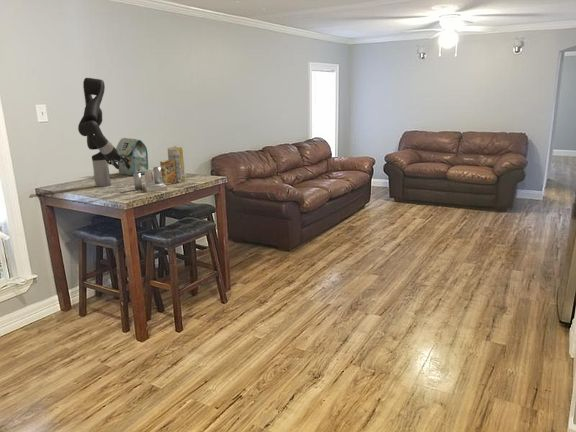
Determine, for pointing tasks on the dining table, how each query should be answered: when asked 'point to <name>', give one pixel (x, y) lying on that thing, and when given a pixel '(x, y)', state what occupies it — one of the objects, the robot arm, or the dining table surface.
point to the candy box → (168, 172)
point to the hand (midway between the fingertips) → (123, 167)
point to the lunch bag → (133, 156)
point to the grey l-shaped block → (152, 182)
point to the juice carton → (177, 162)
